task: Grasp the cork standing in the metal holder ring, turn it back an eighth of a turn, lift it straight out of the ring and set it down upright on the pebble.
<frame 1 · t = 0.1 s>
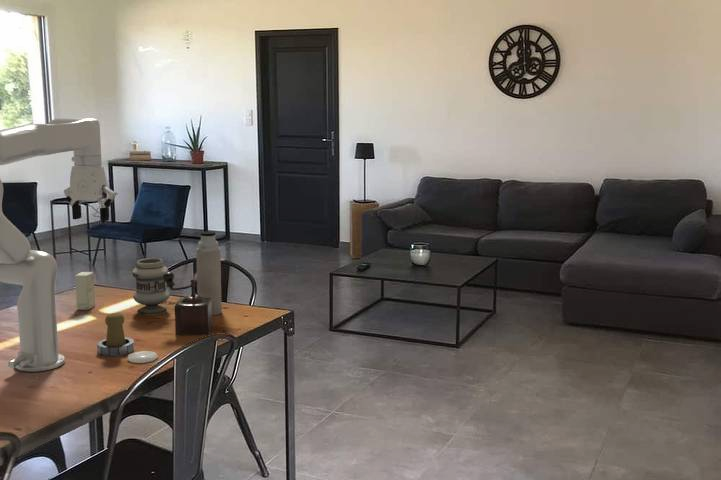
hand: (90, 219, 222), 37 cm above the table, tool pointing down, fingers open, 9 cm apart
pepper mill: (186, 330, 239), on the table
thermos bottle: (209, 313, 259), on the table
cork: (116, 351, 219), resting in holder ring
holder ring: (116, 350, 219), on the table
skincare box: (86, 308, 263), on the table
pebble: (142, 358, 212), on the table
apothecary jar: (152, 312, 259), on the table
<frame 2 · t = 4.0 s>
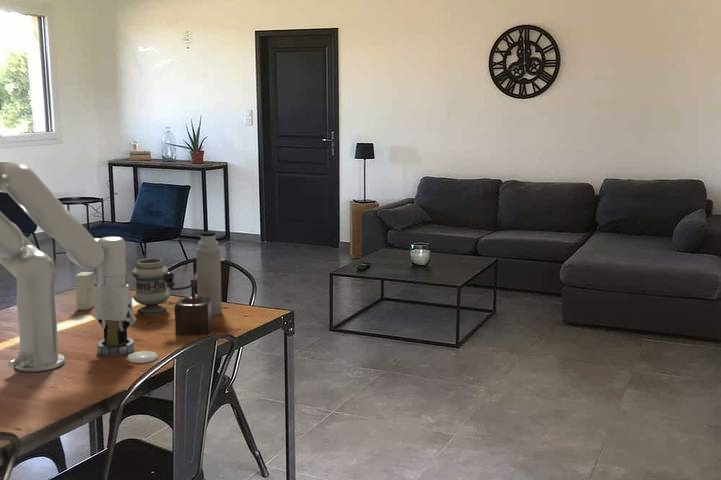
hand: (115, 341, 218), 3 cm above the table, tool pointing down, fingers closed on cork, 4 cm apart
cork: (116, 351, 219), resting in holder ring, touching gripper
everything else where it was.
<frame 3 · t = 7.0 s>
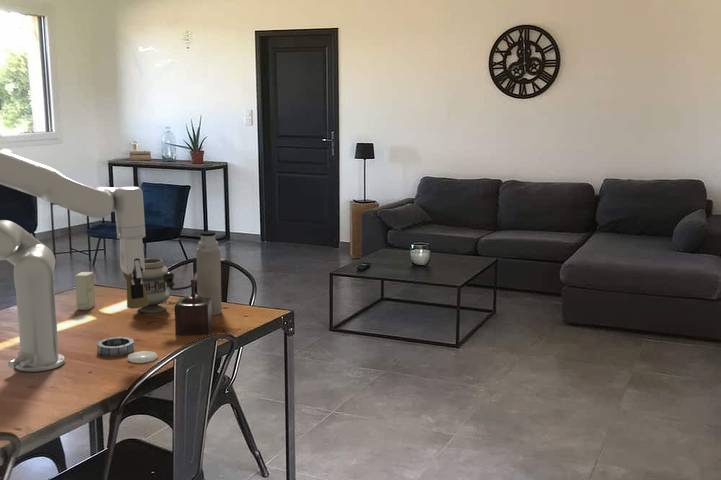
hand: (135, 295, 211), 18 cm above the table, tool pointing down, fingers closed on cork, 4 cm apart
cork: (138, 305, 212), point 15 cm above the table, touching gripper
everything else where it was.
when the fingers open (5 cm above the table, at t = 10.3 s): cork stays where it is, resting on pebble.
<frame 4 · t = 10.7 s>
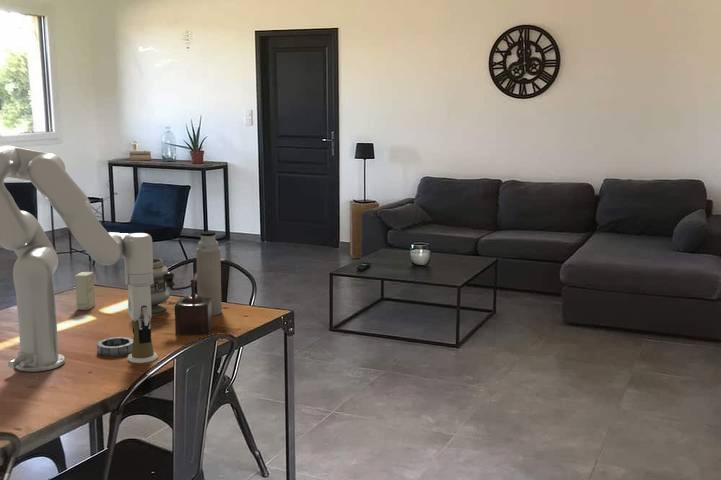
hand: (141, 337, 211), 6 cm above the table, tool pointing down, fingers open, 9 cm apart
cork: (142, 355, 213), point 1 cm above the table, touching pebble
everything else where it was.
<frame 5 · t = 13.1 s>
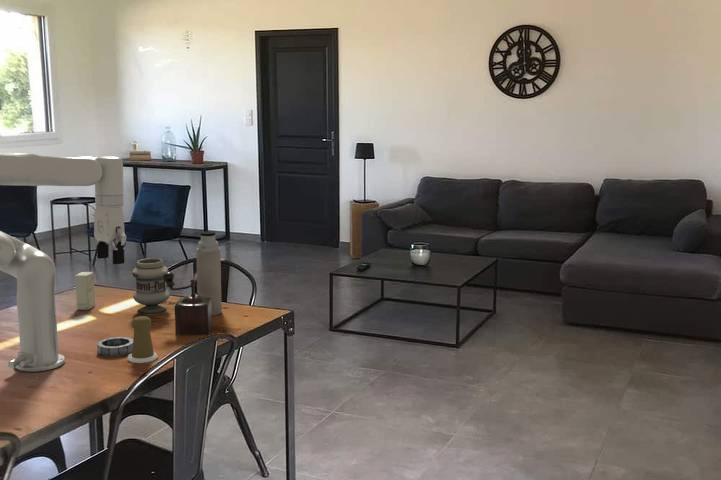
hand: (110, 260, 214), 27 cm above the table, tool pointing down, fingers open, 9 cm apart
nothing on the table moved.
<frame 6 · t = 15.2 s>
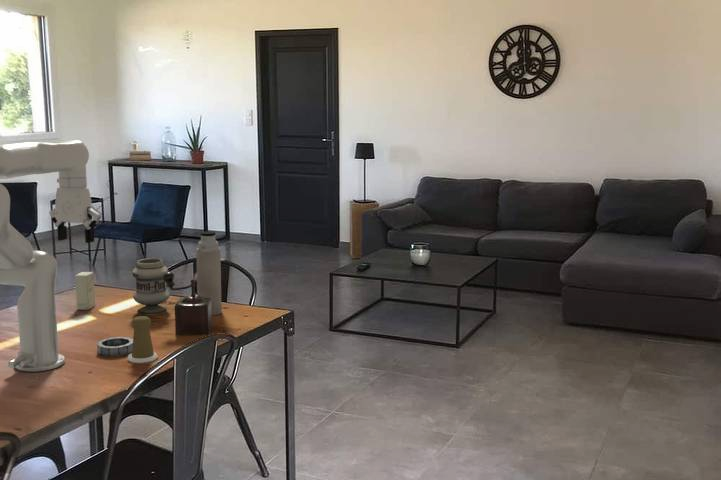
hand: (76, 240, 223), 30 cm above the table, tool pointing down, fingers open, 9 cm apart
nothing on the table moved.
at the end: cork 0.7 cm from the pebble (horizontally); cork tilted 0°; cork point 0.6 cm above the table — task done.
